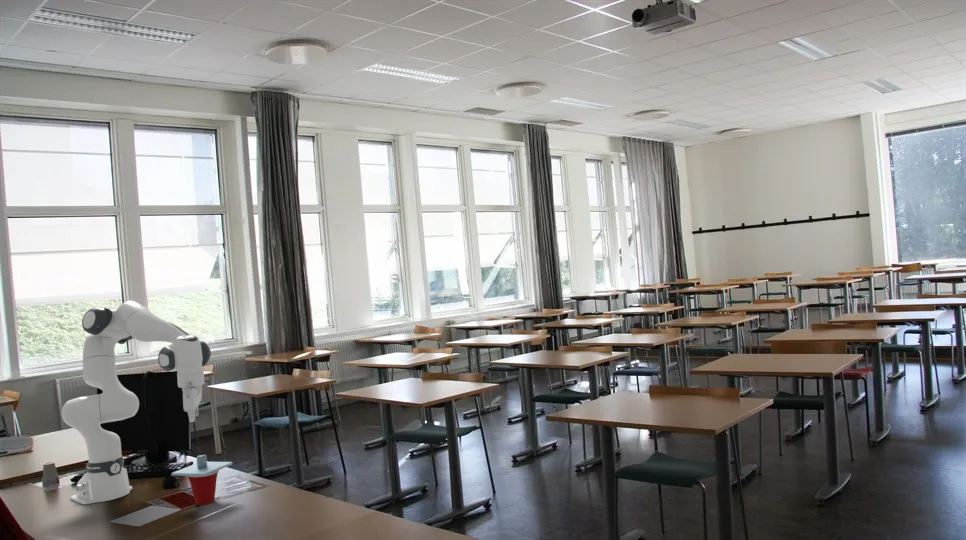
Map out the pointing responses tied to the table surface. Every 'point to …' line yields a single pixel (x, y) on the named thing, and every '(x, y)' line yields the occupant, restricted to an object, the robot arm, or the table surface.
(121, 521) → the grey flat square plate
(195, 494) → the plastic cup
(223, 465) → the lid
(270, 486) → the table surface
